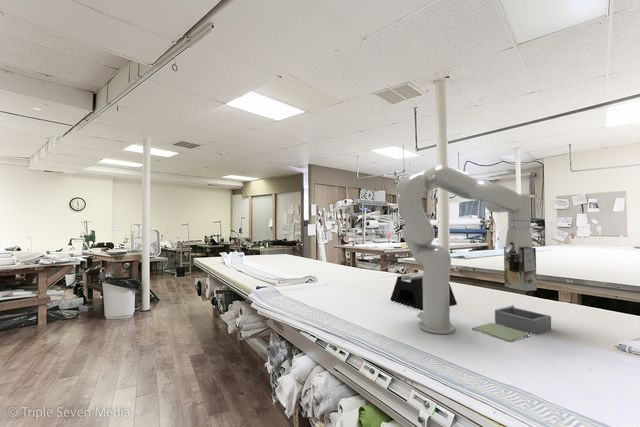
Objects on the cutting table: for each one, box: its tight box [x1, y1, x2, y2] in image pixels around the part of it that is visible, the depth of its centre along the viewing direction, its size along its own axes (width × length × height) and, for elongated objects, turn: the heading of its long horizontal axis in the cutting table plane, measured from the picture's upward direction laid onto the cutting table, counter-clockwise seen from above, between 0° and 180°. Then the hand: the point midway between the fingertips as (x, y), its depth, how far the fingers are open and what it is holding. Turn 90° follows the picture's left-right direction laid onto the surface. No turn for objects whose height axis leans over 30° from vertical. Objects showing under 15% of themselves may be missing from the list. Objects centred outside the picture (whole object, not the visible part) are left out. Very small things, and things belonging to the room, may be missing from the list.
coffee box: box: [503, 246, 538, 292], centre depth 118 cm, size 9×6×16 cm
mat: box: [471, 322, 531, 343], centre depth 111 cm, size 14×12×1 cm
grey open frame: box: [494, 304, 552, 335], centre depth 118 cm, size 14×11×6 cm
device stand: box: [390, 271, 457, 311], centre depth 154 cm, size 22×22×15 cm
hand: (519, 270), depth 118 cm, fingers closed on coffee box, 7 cm apart
